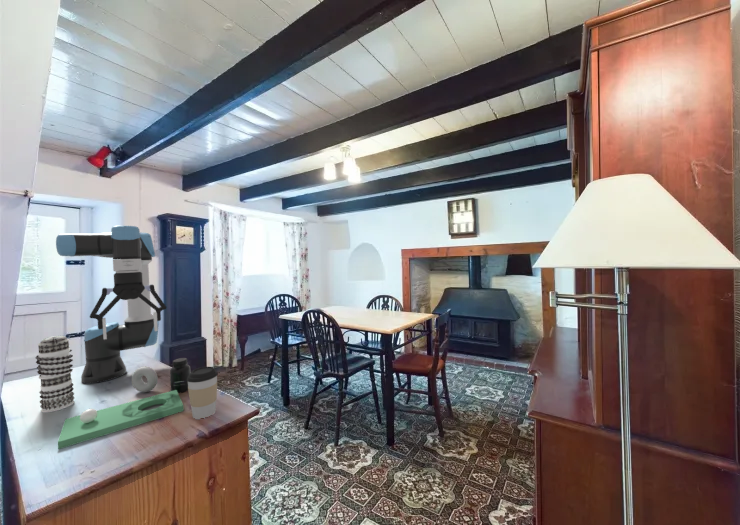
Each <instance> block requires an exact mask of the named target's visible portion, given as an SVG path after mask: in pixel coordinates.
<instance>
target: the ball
mask: <svg viewBox="0 0 740 525" xmlns="http://www.w3.org/2000/svg"><path fill="white" fill-rule="evenodd" d="M97 411H98V410H97V409H95V408H89V409H86V410H84V411H83V412H81V414H80V415H81V416H80V420H81V422H83V423H90V422H92V421H94V420H95V419H96V417H97V414H98V413H97Z"/></svg>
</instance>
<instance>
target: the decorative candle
mask: <svg viewBox="0 0 740 525" xmlns="http://www.w3.org/2000/svg"><path fill="white" fill-rule="evenodd" d="M70 340H71V339H70V338H67V336H65V335H55V336H54V335H53V336H50V337H46V338H43V339H42V340H41V341H40V343H37V346H38V354H37V355H36V356H35V359H36V361H35V363H36V365H37V366H36V369H37V370H38V371H36V372H37V374H38V379H39V380H40V391H39V392H38V393H39V394H40V395H39V398H40V401H39V404H40V405H39V406H40V408H41V409H40V412H41V411H42V412H41V413H51V412H52V413H53V412H57V411H60V410H64V409H66V408H68V407H71V406H72V405H74V403H75V400H74V399H75V397H74V395H75V392H74V391H73V390H74V383H73V379H72V378H71V377H72V374H71V373H72V372H73V370H74V369H73V368H72V367H74V365H73V364H71V363H72V362H73V361H74V360H73V358H72V357H73V354H70V353H72V351H73V349H71V347H69V345H70V342H69V341H70Z"/></svg>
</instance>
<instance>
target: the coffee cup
mask: <svg viewBox="0 0 740 525" xmlns="http://www.w3.org/2000/svg"><path fill="white" fill-rule="evenodd" d="M218 375H219V373H218V371H217V369H215V368H214V366H200V367H198V368H197V367H196V368H195V369H192V370H190V374H189V375H188V378H187V381H188V390H187V391H188V396H189V405H190V407H191V415H192V418H193V419H194V418H195V419H194V420H201V419H200V418H204V419H206V418H205V417H208V416H210V415H212V414H213V413H214V414H216V412H217V410H216V409H217V397H218V396H217V394H218ZM215 411H216V412H215ZM214 414H213V415H214ZM213 415H212V416H213ZM210 417H211V416H210ZM208 418H209V417H208Z"/></svg>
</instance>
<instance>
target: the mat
mask: <svg viewBox="0 0 740 525" xmlns="http://www.w3.org/2000/svg"><path fill="white" fill-rule="evenodd" d="M179 394H180V393H178V392H177V390H174V391H171V390H170V391H167V392H163V393H162V392H161V393H158V394H156V395H152V396H148V397H145V398H140V399H137V400H132V401H128V402H125V403H121V404H117V405H114V406H110V407H105V408H103V409H99V410H96V411H97V413H98V414H97V417H96V419H95V420H94V421H92V422H90V423H83V422H81V420H80V416H81V414H80V415H75V416H71V417H68V418H65V420H64V422H63V424H62V429H61V432H60V435H59V438H58V440H57V449H58V450H60V449H64V448H68V447H70V446H73V445H76V444H80V443H83V442H86V441H89V440H93V439H96V438H99V437H103V436H105V435H109V434H113V433H115V432H116V433H117V432H118V431H124V430H125V429H129V428H132V427H133V428H134V427H136V426H139V425H143V424H145V423H149V422H151V421H155V420H160V419H162V418H165V417H167V416H171V415H175V414H178V412H179V413H181V412H184V410H185V409H184V403H183V401H182V399H181V397H180V395H179Z"/></svg>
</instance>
